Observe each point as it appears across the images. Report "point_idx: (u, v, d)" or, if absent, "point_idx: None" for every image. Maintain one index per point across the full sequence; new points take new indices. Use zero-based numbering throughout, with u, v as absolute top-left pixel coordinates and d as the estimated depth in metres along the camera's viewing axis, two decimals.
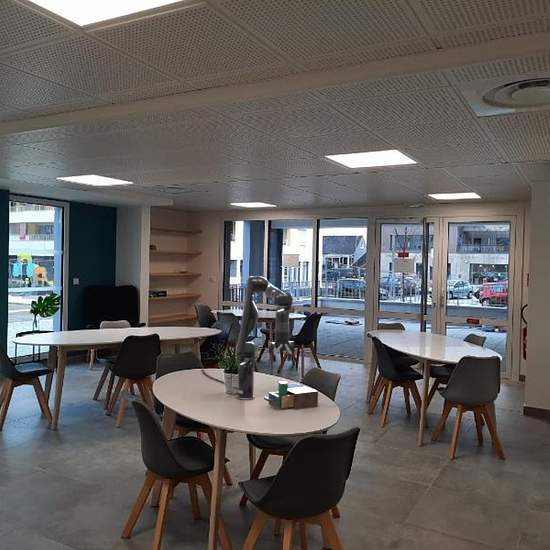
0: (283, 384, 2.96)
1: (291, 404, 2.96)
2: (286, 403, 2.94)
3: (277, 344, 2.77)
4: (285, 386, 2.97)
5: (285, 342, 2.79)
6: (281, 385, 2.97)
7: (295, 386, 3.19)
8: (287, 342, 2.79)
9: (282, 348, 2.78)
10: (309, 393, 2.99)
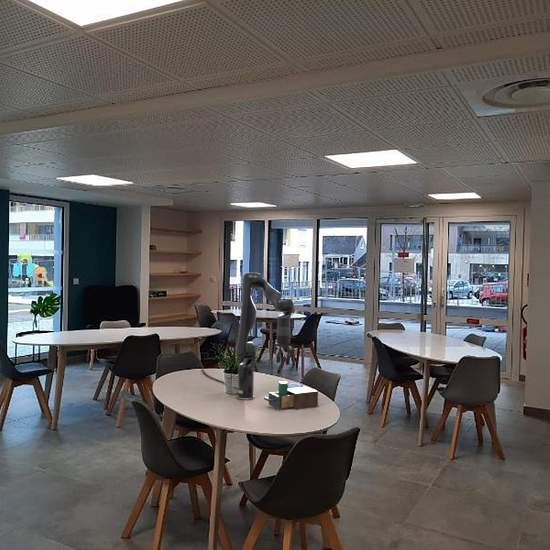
0: (283, 384, 2.96)
1: (291, 404, 2.96)
2: (286, 403, 2.94)
3: (278, 346, 2.95)
4: (285, 386, 2.97)
5: (283, 345, 2.91)
6: (281, 385, 2.97)
7: (295, 386, 3.19)
8: (284, 346, 2.90)
9: (281, 351, 2.92)
10: (309, 393, 2.99)
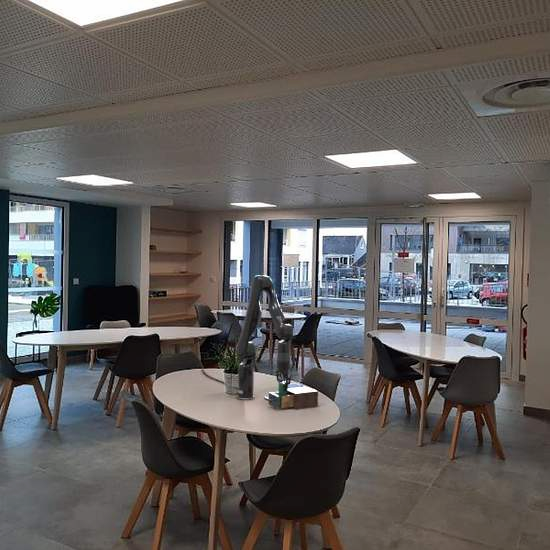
0: (283, 384, 2.96)
1: (291, 404, 2.96)
2: (286, 403, 2.94)
3: (279, 372, 3.01)
4: None
5: (283, 371, 2.97)
6: (281, 385, 2.97)
7: (295, 386, 3.19)
8: (284, 372, 2.96)
9: (281, 376, 2.99)
10: (309, 393, 2.99)
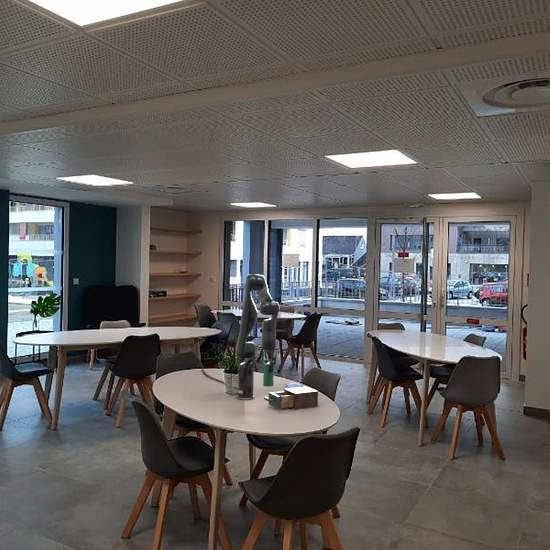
0: (268, 365, 2.80)
1: (291, 404, 2.96)
2: (286, 403, 2.94)
3: (264, 352, 2.84)
4: None
5: (268, 351, 2.80)
6: (266, 366, 2.80)
7: (295, 386, 3.19)
8: (269, 351, 2.79)
9: (266, 356, 2.82)
10: (309, 393, 2.99)
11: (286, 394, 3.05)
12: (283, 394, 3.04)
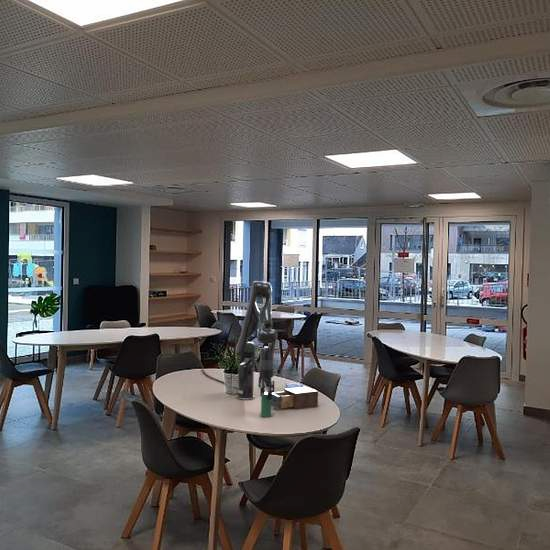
0: (266, 395, 2.78)
1: (291, 404, 2.96)
2: (286, 403, 2.94)
3: (261, 379, 2.83)
4: None
5: (265, 379, 2.79)
6: (264, 396, 2.78)
7: (295, 386, 3.19)
8: (266, 380, 2.78)
9: (264, 385, 2.80)
10: (309, 393, 2.99)
11: (286, 394, 3.05)
12: (283, 394, 3.04)
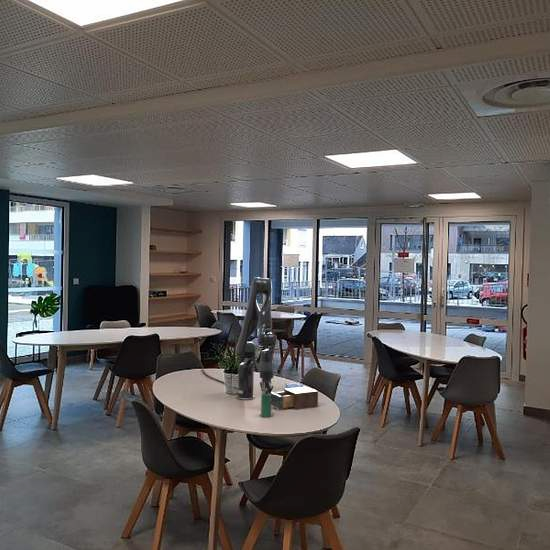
0: (266, 395, 2.78)
1: (292, 404, 2.96)
2: (287, 402, 2.95)
3: (262, 383, 2.96)
4: (268, 397, 2.78)
5: (265, 381, 2.92)
6: (264, 396, 2.78)
7: (295, 386, 3.19)
8: (266, 381, 2.91)
9: None
10: (309, 393, 2.99)
11: (287, 394, 3.05)
12: (284, 394, 3.04)
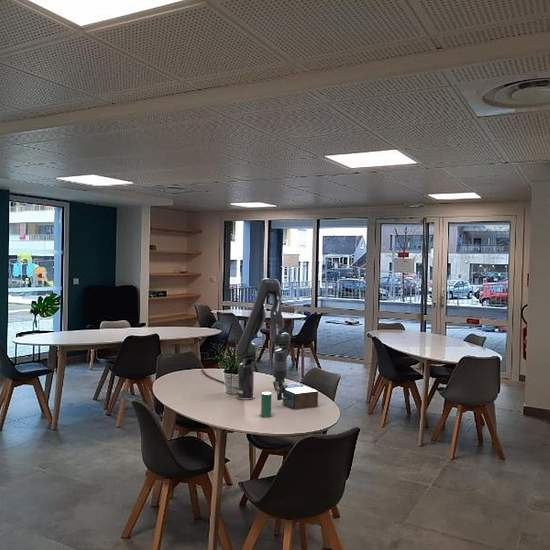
0: (266, 395, 2.78)
1: None
2: None
3: (275, 382, 3.00)
4: (268, 397, 2.78)
5: (279, 380, 2.96)
6: (264, 396, 2.78)
7: (295, 386, 3.19)
8: (280, 380, 2.95)
9: None
10: (309, 393, 2.99)
11: None
12: None
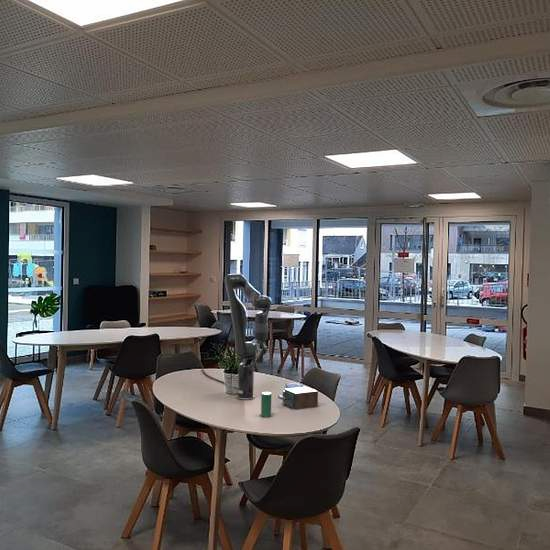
0: (266, 395, 2.78)
1: None
2: None
3: (257, 345, 3.03)
4: (268, 397, 2.78)
5: (260, 342, 2.99)
6: (264, 396, 2.78)
7: (295, 386, 3.19)
8: (261, 342, 2.98)
9: None
10: (309, 393, 2.99)
11: None
12: None
